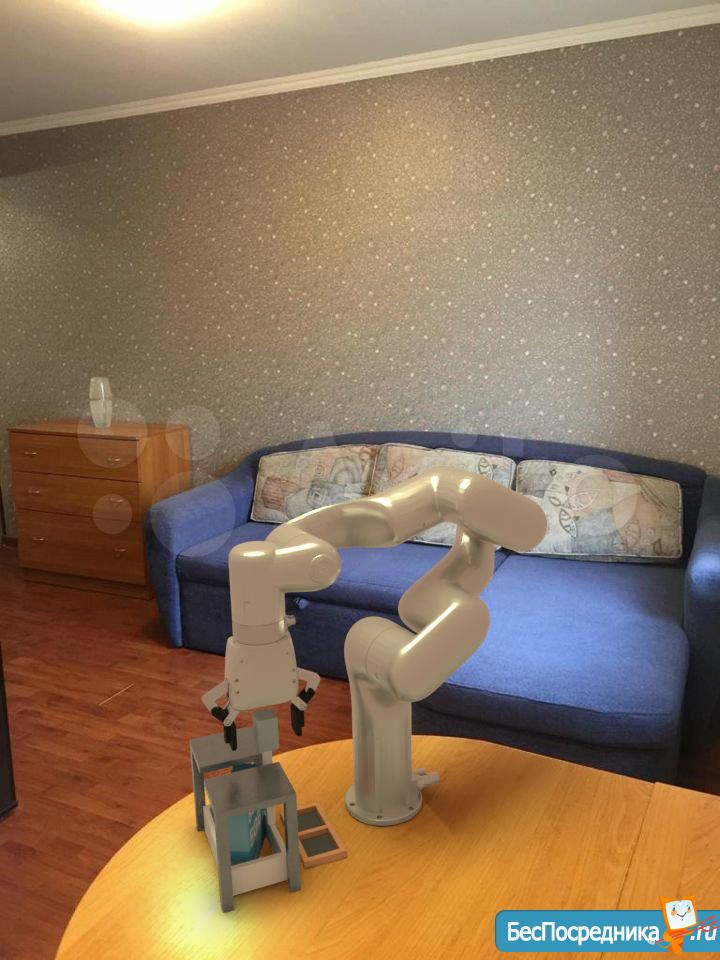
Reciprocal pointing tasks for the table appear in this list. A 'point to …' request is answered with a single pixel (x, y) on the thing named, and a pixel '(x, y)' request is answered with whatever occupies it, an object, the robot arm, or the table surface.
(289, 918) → the table surface
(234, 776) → the tunnel
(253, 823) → the data package
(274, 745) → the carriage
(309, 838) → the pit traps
